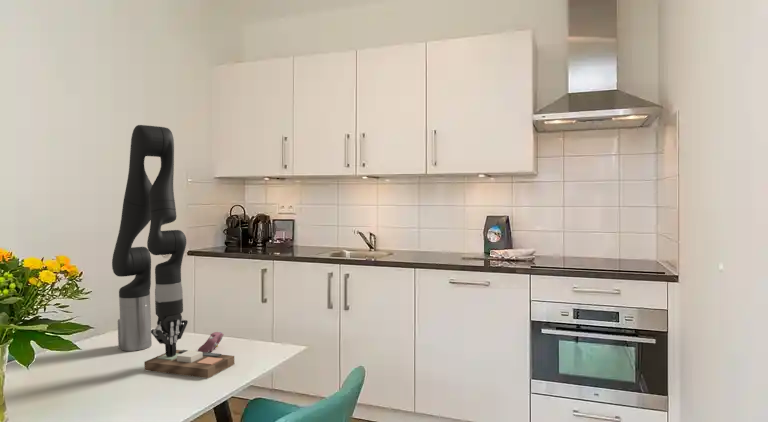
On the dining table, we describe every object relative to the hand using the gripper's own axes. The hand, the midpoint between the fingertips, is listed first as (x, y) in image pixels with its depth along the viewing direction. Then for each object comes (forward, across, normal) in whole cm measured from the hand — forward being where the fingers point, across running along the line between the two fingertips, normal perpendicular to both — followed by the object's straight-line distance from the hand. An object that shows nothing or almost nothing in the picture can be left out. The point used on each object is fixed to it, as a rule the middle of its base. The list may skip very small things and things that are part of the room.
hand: (171, 356), depth 152 cm
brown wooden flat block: (+3, 0, +7) cm, 7 cm away
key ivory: (+1, 0, +7) cm, 7 cm away
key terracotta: (+2, 0, +14) cm, 14 cm away
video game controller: (+3, -16, +2) cm, 16 cm away
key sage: (+2, 0, 0) cm, 2 cm away
